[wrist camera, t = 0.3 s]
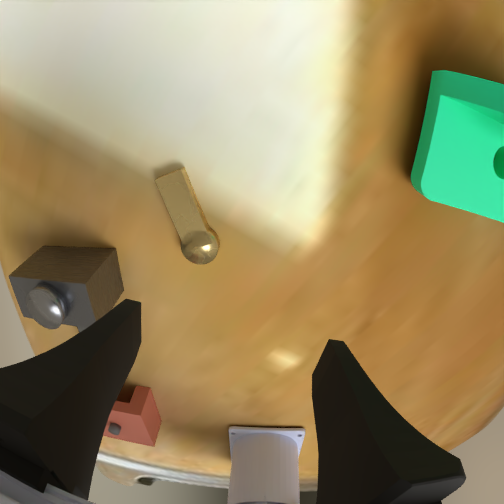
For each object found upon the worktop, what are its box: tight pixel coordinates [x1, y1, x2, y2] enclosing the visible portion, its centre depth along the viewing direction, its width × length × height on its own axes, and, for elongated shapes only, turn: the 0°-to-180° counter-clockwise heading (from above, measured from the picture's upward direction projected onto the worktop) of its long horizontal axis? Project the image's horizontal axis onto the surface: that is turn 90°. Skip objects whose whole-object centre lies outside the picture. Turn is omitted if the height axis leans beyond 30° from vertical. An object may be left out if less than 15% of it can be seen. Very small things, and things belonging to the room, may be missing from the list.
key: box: [155, 167, 220, 264], centre depth 20 cm, size 6×2×1 cm, turn 19°
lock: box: [103, 386, 161, 446], centre depth 28 cm, size 6×7×4 cm
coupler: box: [9, 246, 124, 333], centre depth 22 cm, size 14×7×6 cm, turn 179°
